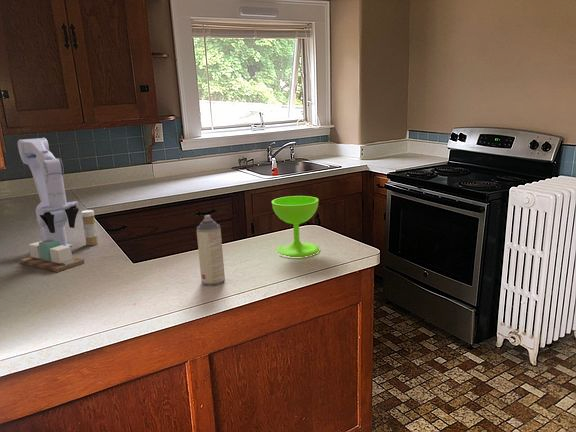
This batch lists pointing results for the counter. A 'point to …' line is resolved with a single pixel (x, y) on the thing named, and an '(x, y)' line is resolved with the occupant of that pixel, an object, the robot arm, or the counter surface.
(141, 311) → the counter surface
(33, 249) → the mounted modules
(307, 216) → the wineglass
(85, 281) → the counter surface
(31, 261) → the rail board
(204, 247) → the aerosol can
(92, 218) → the sprinkles bottle
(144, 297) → the counter surface
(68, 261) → the rail
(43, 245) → the block
